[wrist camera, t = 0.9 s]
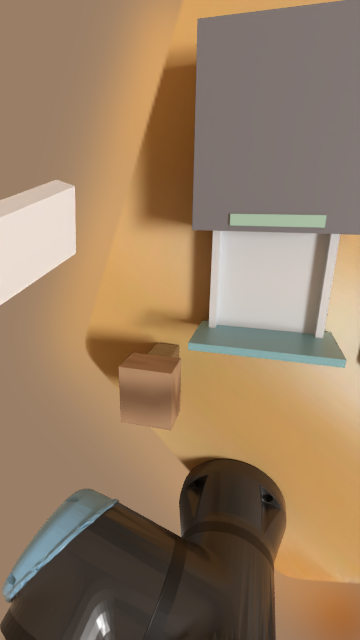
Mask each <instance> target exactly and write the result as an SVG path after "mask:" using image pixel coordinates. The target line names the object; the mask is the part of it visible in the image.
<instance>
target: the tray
mask: <svg viewBox="0 0 360 640" xmlns="http://www.w3.org/2000/svg"><path fill="white" fill-rule="evenodd" d="M339 238H340V234H318V233H282V232H246V231H213V241H212V263H211V285H210V307H209V321H202V322H201V323H200V325H199V326H198V328H197V330H196V331H195V333H194V334H193V336H192V338H191V339H190V341H189V342H188V350H195V351H203V352H212V353H221V354H229V355H238V356H247V357H255V358H264V359H273V360H282V361H290V362H299V363H308V364H316V365H325V366H334V367H343V368H345V364H346V358H345V357H344V355H343V353H342V351H341V349H340V348H339V346H338V344H337V342H336V340H335V338H334V337H333V335H332V333H331V332H324V330H325V324H326V318H327V312H328V305H329V299H330V293H331V287H332V281H333V275H334V268H335V262H336V256H337V250H338V244H339Z"/></svg>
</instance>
